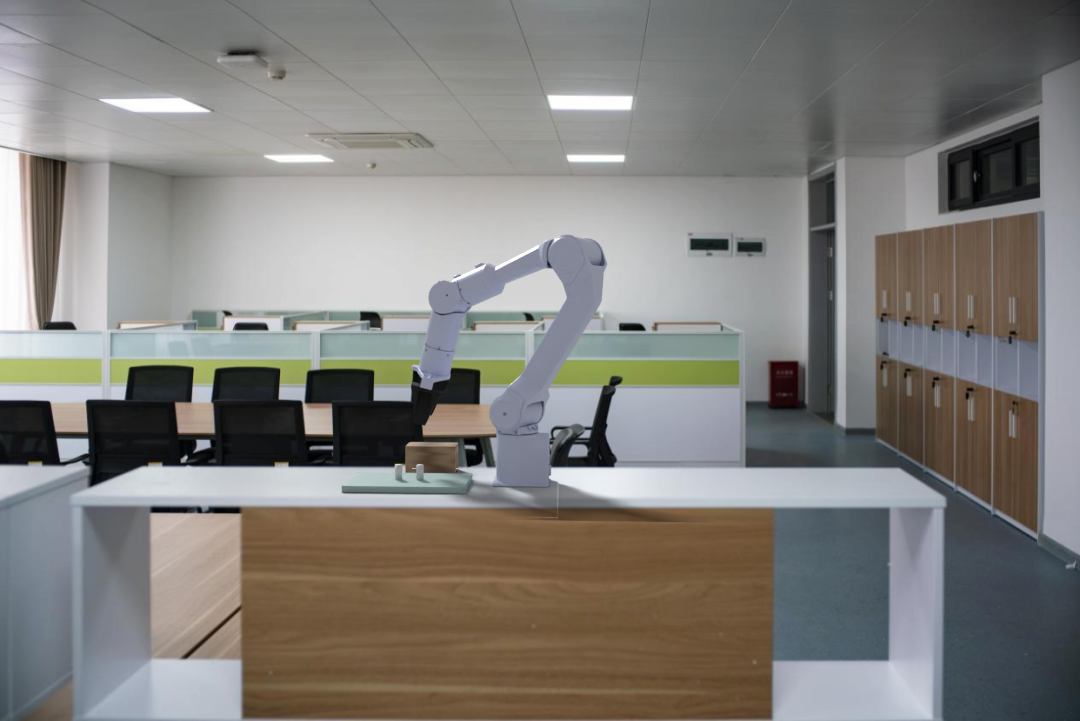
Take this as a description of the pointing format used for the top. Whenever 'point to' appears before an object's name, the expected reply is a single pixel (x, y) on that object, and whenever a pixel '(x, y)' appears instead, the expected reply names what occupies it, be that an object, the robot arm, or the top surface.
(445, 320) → the robot arm
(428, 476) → the pin board
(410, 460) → the box
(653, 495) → the top surface
